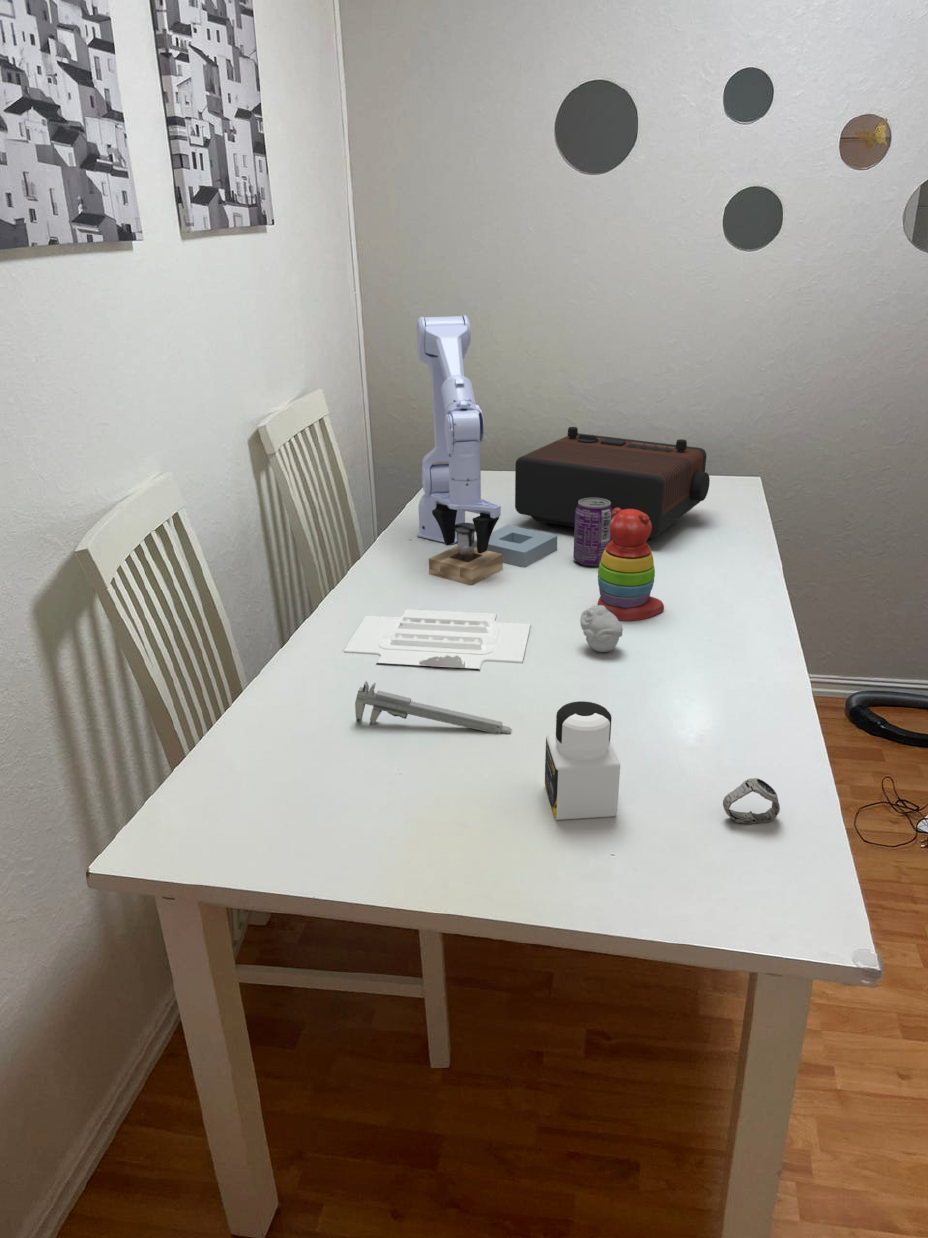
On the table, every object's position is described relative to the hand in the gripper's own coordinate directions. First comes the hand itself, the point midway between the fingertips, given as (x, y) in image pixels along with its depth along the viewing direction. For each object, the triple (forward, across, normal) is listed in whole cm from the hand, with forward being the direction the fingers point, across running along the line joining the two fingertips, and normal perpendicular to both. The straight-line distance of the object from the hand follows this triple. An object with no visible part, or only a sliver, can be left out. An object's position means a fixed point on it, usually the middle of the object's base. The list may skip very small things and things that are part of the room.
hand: (465, 547), depth 168 cm
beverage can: (+5, +17, +18) cm, 25 cm away
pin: (+4, 0, 0) cm, 4 cm away
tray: (+6, +14, -26) cm, 30 cm away
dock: (+5, +2, +14) cm, 15 cm away
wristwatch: (+5, +71, -43) cm, 83 cm away
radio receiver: (+5, +9, +42) cm, 43 cm away
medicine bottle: (+5, +54, -51) cm, 74 cm away
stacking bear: (+5, +33, +1) cm, 33 cm away
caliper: (+6, +30, -48) cm, 57 cm away
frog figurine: (+5, +37, -15) cm, 40 cm away
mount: (+5, 0, 0) cm, 5 cm away
